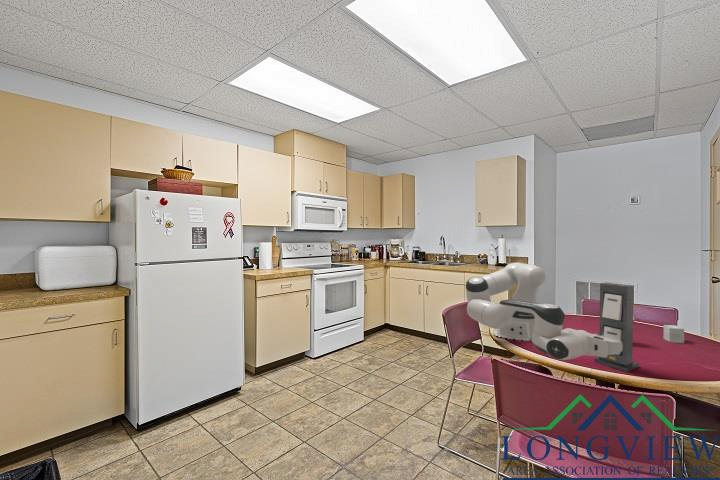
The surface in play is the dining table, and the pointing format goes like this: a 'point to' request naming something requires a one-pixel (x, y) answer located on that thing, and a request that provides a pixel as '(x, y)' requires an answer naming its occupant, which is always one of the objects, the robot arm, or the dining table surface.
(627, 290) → the power strip
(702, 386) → the dining table surface
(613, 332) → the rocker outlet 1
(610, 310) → the white rocker switch
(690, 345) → the dining table surface
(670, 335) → the skincare box
